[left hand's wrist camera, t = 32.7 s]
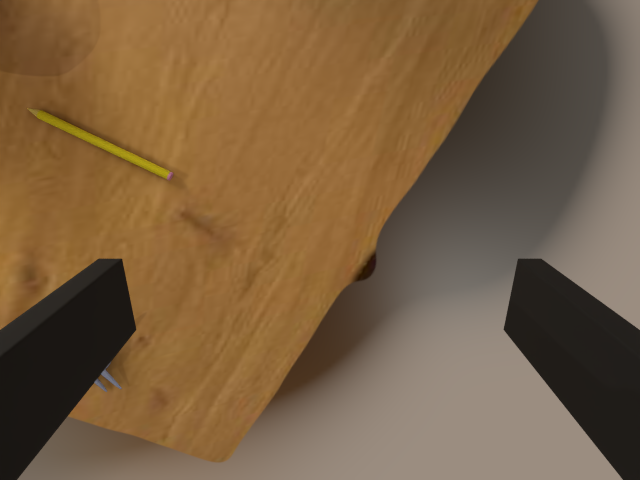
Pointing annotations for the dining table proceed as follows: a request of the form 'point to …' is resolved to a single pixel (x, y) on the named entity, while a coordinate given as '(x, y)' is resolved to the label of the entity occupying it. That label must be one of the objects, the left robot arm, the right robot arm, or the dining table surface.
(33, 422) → the left robot arm
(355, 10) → the dining table surface
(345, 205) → the dining table surface
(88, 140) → the pencil
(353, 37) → the dining table surface
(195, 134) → the dining table surface
